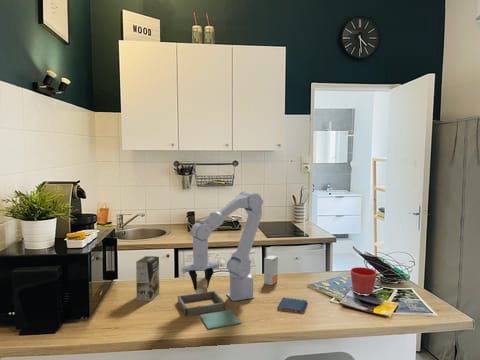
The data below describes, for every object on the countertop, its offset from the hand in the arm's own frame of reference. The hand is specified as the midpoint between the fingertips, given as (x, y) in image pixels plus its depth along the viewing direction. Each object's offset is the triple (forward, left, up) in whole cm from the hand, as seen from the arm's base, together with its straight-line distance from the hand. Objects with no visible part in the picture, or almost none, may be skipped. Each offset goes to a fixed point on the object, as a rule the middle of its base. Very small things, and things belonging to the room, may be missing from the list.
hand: (200, 288), depth 145 cm
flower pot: (-68, +13, -7) cm, 70 cm away
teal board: (-3, +15, -7) cm, 16 cm away
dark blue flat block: (-33, +14, -8) cm, 37 cm away
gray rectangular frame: (0, 0, -7) cm, 7 cm away
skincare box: (-37, -13, -7) cm, 40 cm away
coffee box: (+18, -17, -7) cm, 26 cm away
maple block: (0, 0, -2) cm, 2 cm away
